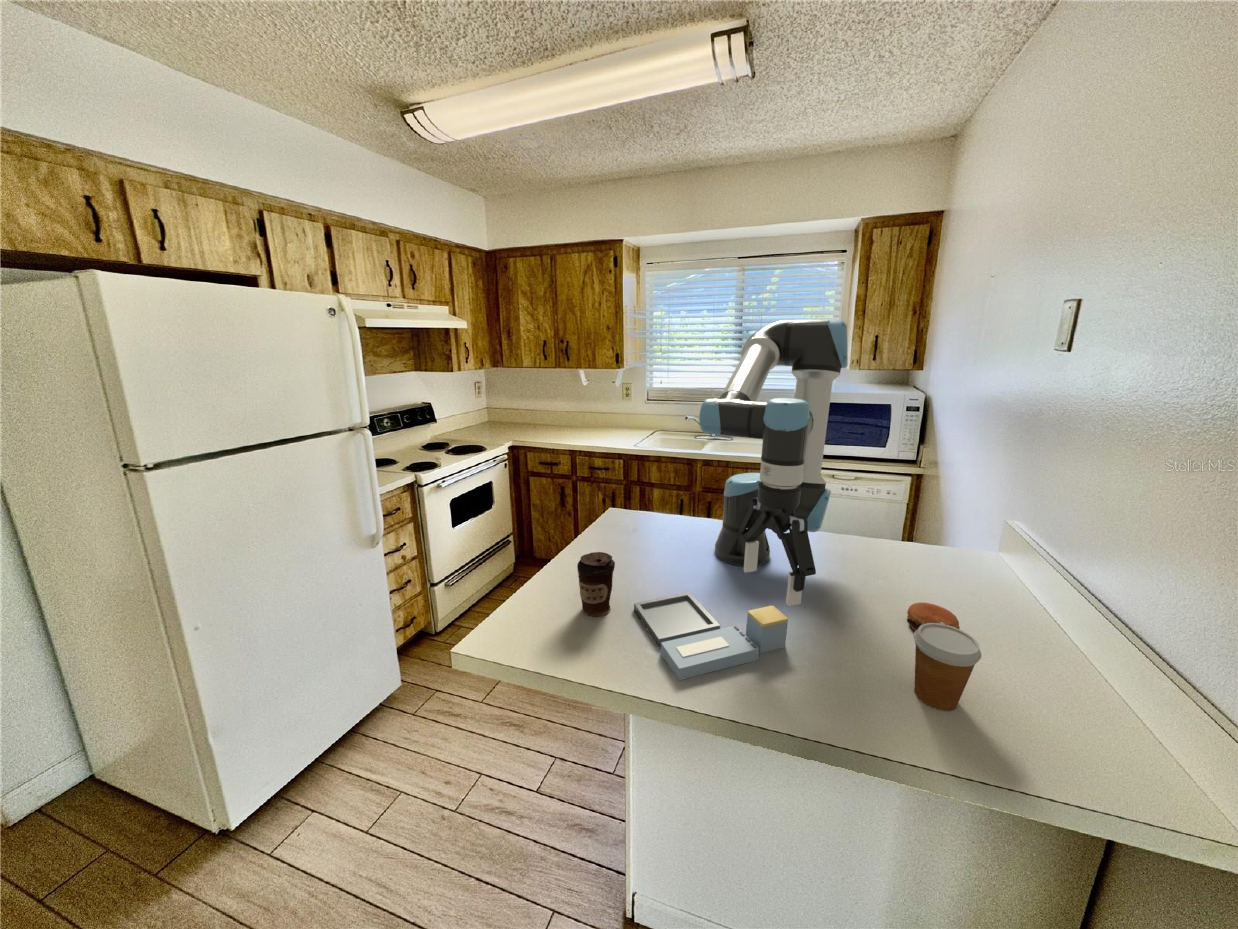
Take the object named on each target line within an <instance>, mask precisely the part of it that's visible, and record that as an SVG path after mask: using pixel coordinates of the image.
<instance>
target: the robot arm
mask: <svg viewBox="0 0 1238 929" xmlns="http://www.w3.org/2000/svg"><path fill="white" fill-rule="evenodd" d="M740 354H741V356H740V357H741V358H740V360H739V362H738V363H737V366H736V367H735V369H734V371H733V372H732V375H731V377H730V379H729V380H728V381H727V384H726V386H725V388H724V389H723V391H722V393H721V395H720V396H719V398H716V397H714V398H706V399H705V400H704V401H703V402H702V404H701V406H700V409H699V415H698V416H699V417H698V418H699V419H698V421H699V428H700V430H701V431H702V432H703V433H704V434H708V435H716V436H717V437H720V436H722V437H735V438H749V439H754V440H755V439H756V440H762V444H761V446H762V447H761V458H760V460H761V461H760V469H759V472H744V473H738V474H734V475H731V476H730V477H729V478H728V479H726V481H725V484H724V492H723V509H722V511H723V512H722V526H721V529H720V532H719V534H718V536H717V539H716V541H715V544H714V554H715V556H716V557H717V558H718V559H719V560H721V561H724V562H725V563H728V564H731V565H734V566H735V565H736V566H740V567H741V566H742V567H743V572H744V573H745V574H746V573H752V572H757V570H758V566H761V565H764V564H765V563H767V562H768V561H769V560H770V557H771V555H770V553H771V548H770V545H769V540H768V537H767V533H766V530H767V529H768V530H771V531H772V532H773V533H775V534H776V536H777V538H778V539H779V540H780V541H781V543H782V546H783V549H784V552H785V554H786V558H787V560H788V563H789V566H790V568H791V571H790V572H788V576H787V577H788V579H787V587H786V597H785V598H786V599H785V605H786V606H787V607H792V606H797V605H801V602H802V593H803V591H804V590H805V586H806V585H805V584H806V577H809V576H814V575H816V573H817V572H816V571H817V570H816V566H815V562H814V557H813V551H812V547H811V543H810V537H809V533H816V532H819V531H820V529H821V528H822V525H823V523H824V522H823V521H824V519H825V515H826V511H827V508H828V504H829V501H830V497H831V494H832V491H831V489H829V488H827V487H826V485H827V481H826V480H825V479H824V478H823V476H822V466H823V459H824V452H825V443H826V435H827V427H828V421H829V413H830V412H829V411H830V404H831V397H832V389H833V388H832V387H833V382H834V380H836V379H837V378H838V377H840V375H841V371H842V369H845V368H847V367H848V363H849V362H848V361H849V360H848V325H847V323H846V322H845V321H844V320H841V319H829V318H825V319H824V318H823V319H821V318H820V319H783V320H777V321H774V322H771V323H769V324H767V325H765V326H764V327H760V328H759V329H758V330H756V331H755V332H754V333H753V334H751V335H750V336H749V338H747V340H746V341H745V343H744V344H743V346H742V348H741V353H740ZM776 366H785V367H786V366H787V367H791V375H793V377H794V378H795V379H796V384H795V393H794V398H792V397H791V398H790V397H789V398H788V397H777V398H771V399H769V400H767V401H757V399H758V398H759V395H760V393H761V391H762V388H763V387H764V384H765V382H766V379H767V377H768V375H769V373H770V371H771V370H773V369H774V368H775V367H776ZM788 531H789V532H788ZM808 532H809V533H808Z"/></svg>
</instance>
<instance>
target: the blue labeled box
mask: <svg viewBox="0 0 1238 929" xmlns="http://www.w3.org/2000/svg"><path fill="white" fill-rule="evenodd" d="M660 654H661V656H662V657H663V659H664V661H665V662H666V663H667V664H668V666H669V668H670V670H671V671H672V672H673V674H674V675H675V677H676V678H677V680H678V681H681V680H685V679H689V678H692V677H697V676H700V675H705V674H709V673H712V672H716V671H719V670H725V669H727V668H732V667H735V666H740V665H742V664H746V663H750V662H754V661H758V660H759V654H760V653H759V648H758V647H757V646H756V645H755V644H754V643H753V642H752V641H751V640H750V639H749V638H748V637H747V636H746V633H744V632H743V631H742V629H740V627H739V626H737V625H732V626H727V627H722V628H720V629H718V630H713V631H709V632H705V633H700V634H696V635H692V636H687V637H683V638H679V639H674V640H670V641H666V642H661V646H660Z"/></svg>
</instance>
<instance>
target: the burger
mask: <svg viewBox="0 0 1238 929" xmlns="http://www.w3.org/2000/svg"><path fill="white" fill-rule="evenodd" d="M906 613H907V615H906V617H907V618H906V622H907V623H908V624H909V626H910V627H911V628H912V629H913V630H914V632H915V631H916V630H918V628H919V627H920V626H921V625H923V624H926V623H940V624H945V625H949V626H952V627H955V628H957V629H960V628H961V626H960V621H959V619H958V617H957V616H956V615H955V614H954V613H953V612H952V611H950V610H949V609H946V608H945V607H943V606H939V605H938V604H933V603H929V602H915V603H912V604H910V606H909V607H908V609H907V612H906ZM960 630H961V629H960Z"/></svg>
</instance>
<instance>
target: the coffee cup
mask: <svg viewBox="0 0 1238 929" xmlns="http://www.w3.org/2000/svg"><path fill="white" fill-rule="evenodd" d="M615 564H616V562H615V560H614V559H613V556H612V555H611V554H609V553H607V552H601V551H595V552H590V553H586V554H582V556H580V558H579V560H578V563H577V567H576V568H577V573H578V574H577V575H578V586H579V587H578V588H579V594H580V600H581V605H582V606H581V608H582V612H583V613H584V614H585V615H588V616H590V617H591V616H592V617H601V616H604V615H605V616H606V615H607V614H609V613H610V611H611V605H610V600H611V594H612V590H613V578H614V576H613V575H614V571H615Z"/></svg>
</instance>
